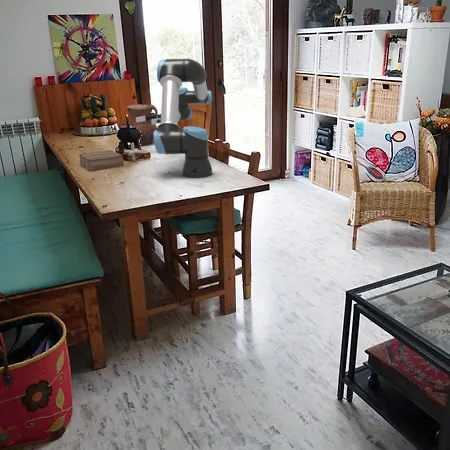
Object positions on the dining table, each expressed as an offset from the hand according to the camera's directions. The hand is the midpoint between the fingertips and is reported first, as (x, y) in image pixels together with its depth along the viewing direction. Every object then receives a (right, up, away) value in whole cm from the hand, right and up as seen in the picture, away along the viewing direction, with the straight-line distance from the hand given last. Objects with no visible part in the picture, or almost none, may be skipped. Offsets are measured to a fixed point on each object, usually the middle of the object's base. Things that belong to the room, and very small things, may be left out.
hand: (144, 120), depth 265 cm
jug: (-9, -5, +46) cm, 47 cm away
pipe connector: (-6, -23, +1) cm, 23 cm away
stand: (-22, -27, -9) cm, 35 cm away
